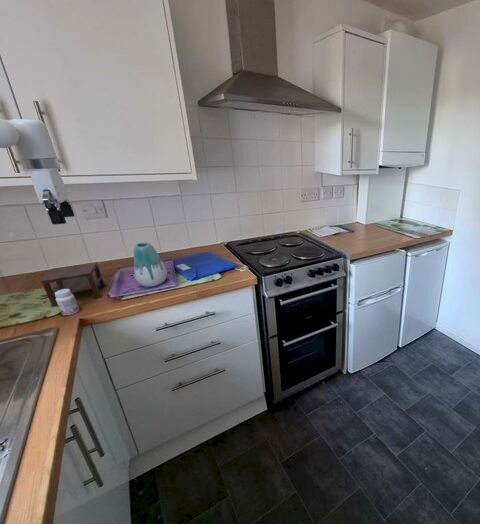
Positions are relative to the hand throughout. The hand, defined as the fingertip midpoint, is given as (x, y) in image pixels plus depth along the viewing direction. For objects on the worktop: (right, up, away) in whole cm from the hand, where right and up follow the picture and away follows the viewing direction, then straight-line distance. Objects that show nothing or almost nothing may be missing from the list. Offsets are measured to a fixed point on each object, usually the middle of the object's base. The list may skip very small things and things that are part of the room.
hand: (64, 220), depth 96 cm
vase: (+8, -23, +32) cm, 40 cm away
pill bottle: (-8, -32, +11) cm, 34 cm away
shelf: (-15, -27, +22) cm, 38 cm away
